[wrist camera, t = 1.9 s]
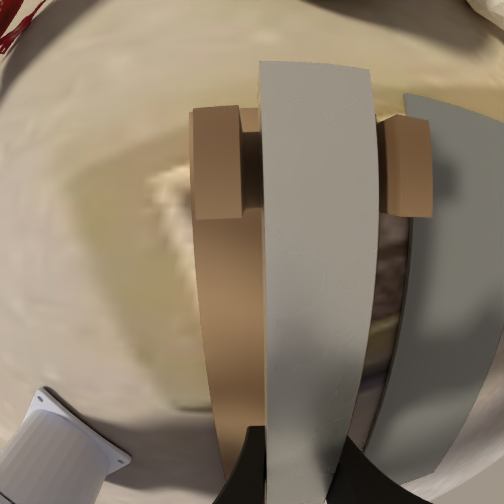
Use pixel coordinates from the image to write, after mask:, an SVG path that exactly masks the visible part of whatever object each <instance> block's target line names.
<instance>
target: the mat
mask: <svg viewBox="0 0 504 504" xmlns="http://www.w3.org/2000/svg"><path fill="white" fill-rule="evenodd" d="M404 102H405V110H406V116H408V117H414V118H419V119H424V120H428V121H429V127H430V138H431V151H432V171H433V212H432V217H410V230H409V246H408V258H407V269H406V278H405V286H404V294H403V301H402V308H401V314H400V320H399V325H398V331H397V336H396V341H395V346H394V350H393V355H392V359H391V364H390V368H389V372H388V376H387V380H386V383H385V387H384V391H383V394H382V398H381V401H380V404H379V408H378V411H377V414H376V417H375V420H374V423H373V426H372V429H371V432H370V435H369V437H368V440H367V443H366V445H365V448H364V451H363V454H364V455H365V456H366V457H367V458H368V459H369V460H370V461H371V462H372V463H373V464H374V465H375V466H376V467H377V468H378V469H379V470H380V471H381V472H382V473H384V474H385V475H386V476H387V477H389V478H390V479H391V480H393V481H394V482H395V483H397V484H398V485H401V484H404V483H407V482H410V481H412V480H415V479H418V478H421V477H423V476H426V475H428V474H431V473H433V472H434V471H435V469H436V468H437V466H438V465H439V464H440V462H441V461H442V459H443V458H444V456H445V455H446V453H447V451H448V450H449V448H450V447H451V445H452V443H453V442H454V440H455V438H456V437H457V435H458V433H459V432H460V430H461V428H462V426H463V424H464V423H465V421H466V419H467V417H468V415H469V413H470V411H471V409H472V407H473V405H474V403H475V401H476V399H477V397H478V395H479V392H480V390H481V388H482V386H483V383H484V381H485V379H486V376H487V374H488V371H489V369H490V366H491V364H492V361H493V358H494V355H495V353H496V350H497V347H498V344H499V341H500V338H501V334H502V331H503V328H504V123H502V122H499V121H497V120H494V119H492V118H489V117H487V116H484V115H481V114H478V113H476V112H473V111H470V110H467V109H464V108H461V107H458V106H454V105H451V104H448V103H444V102H441V101H437V100H434V99H430V98H426V97H422V96H418V95H413V94H409V93H406V94H404Z"/></svg>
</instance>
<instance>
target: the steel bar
mask: <svg viewBox="0 0 504 504" xmlns="http://www.w3.org/2000/svg"><path fill="white" fill-rule="evenodd" d="M257 99H258V126H259V155H260V187H261V223H262V264H263V313H264V381H265V442H266V480H265V504H323V503H324V500H325V498H326V495H327V493H328V490H329V487H330V485H331V482H332V479H333V476H334V473H335V470H336V468H337V465H338V461H339V458H340V455H341V452H342V449H343V446H344V442H345V439H346V435H347V432H348V428H349V424H350V421H351V417H352V413H353V409H354V405H355V401H356V396H357V392H358V388H359V383H360V378H361V373H362V368H363V363H364V358H365V352H366V346H367V340H368V334H369V327H370V320H371V312H372V304H373V295H374V285H375V274H376V262H377V246H378V220H379V175H378V150H377V134H376V122H375V111H374V102H373V94H372V86H371V79H370V72H369V70H368V69H362V68H355V67H348V66H340V65H331V64H320V63H307V62H285V61H259V74H258V94H257Z"/></svg>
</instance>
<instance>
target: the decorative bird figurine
mask: <svg viewBox="0 0 504 504" xmlns="http://www.w3.org/2000/svg"><path fill="white" fill-rule="evenodd" d="M23 1H24V0H0V38H1V36H2V35H3V34H4V32H5V31H6V29H7V28H8V26H9V25H10V23H11V22H12V20H13V18H14V17H15V15H16V14H17V12H18V10H19V9H20V7H21V5H22V3H23ZM45 1H46V0H44V1H43V2H41V3H40V4H39V5H38V6H37V8H36V9H35V10H34V12H33V13H31V14H30V15H29V16H26V17H25V18H24V19H23V20H22V21H21V23H20V24H19V25H18V26H17V27H16V28H15V29H14V30H13V31H11V32H9V33H8V34H7V35H5V36H4V37H2V38H1V39H0V45H2V44H3V43H4V44H3V46H2V47H1V48H0V54H5V52H6V51H7V49H8V48H9V46H10V45H11V44H12V42H13V41H14V40H15V38H16V37H17V36H18V35H20V34H21V32H23V31H24V30H25V29H26V28H27V27H28V25H29V24H30V22H31V20H32V18H33V16H34V14H35V13H36V12H37V10H38V9H39V8H40V7H41V5H42V4H43V3H44V2H45ZM4 48H5V50H4V51H3V52H2V50H3V49H4Z"/></svg>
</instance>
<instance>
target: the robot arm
mask: <svg viewBox="0 0 504 504" xmlns="http://www.w3.org/2000/svg"><path fill="white" fill-rule="evenodd" d="M131 460H132V459H131V457H130V456H129V455H128V454H126V453H125V452H123V451H122V450H120V449H119V448H117V447H116V446H114V445H113V444H111V443H110V442H108V441H107V440H105V439H104V438H103V437H101V436H100V435H98V434H97V433H96V432H94V431H93V430H92V429H90V428H89V427H88V426H87V425H85V424H84V423H83V422H81V421H80V420H79V419H78V418H77V417H75V416H74V415H73V414H72V413H71V412H69V411H68V410H67V409H66V408H65V407H64V406H62V405H61V404H60V403H59V402H58V401H57V400H56V399H55V398H54V397H52V396H51V395H50V394H49V393H48V392H47V391H46V390H45V389H43V388H39V389H38V390H37V391H36V393H35V395H34V398H33V400H32V402H31V404H30V406H29V409H28V411H27V413H26V416H25V418H24V420H23V423H22V425H21V426H20V428H19V429H18V430H17V431H16V433H15V434H14V435H13V436H12V438H11V439H10V440H9V441H8V443H7V444H6V445H5V447H4V448H3V449H2V450H1V452H0V504H94V503H95V501H96V498H97V496H98V494H99V491H100V489H101V487H102V484H103V482H104V480H105V478H106V476H107V475H109V474H111V473H113V472H115V471H117V470H119V469H120V468H122V467H124V466H126V465H128V464H129V463H130V462H131ZM265 480H266V442H265V426H249V427H247V431H246V436H245V440H244V444H243V447H242V449H241V452H240V455H239V457H238V459H237V462H236V464H235V466H234V469H233V471H232V472H231V474H230V476H229V478H228V480H227V482H226V484H225V485H224V487H223V489H222V490H221V492H220V493H219V495H218V496H217V498H216V499H215V501H214V502H213V503H212V504H264V492H265ZM326 501H327V504H433V503H430V502H428V501H426V500H424V499H422V498H420V497H418V496H416V495H414V494H413V493H411V492H409V491H407V490H406V489H404V488H402V487H401V486H400V485H398V484H397V483H395V482H394V481H393V480H391V479H390V478H389V477H387V476H386V475H385V474H384V473H382V472H381V471H380V470H379V469H378V468H377V467H376V466H375V465H374V464H373V463H372V462H371V461H370V460H369V459H368V458H367V457H366V456H365V455H364V454H363V453H362V452H361V451H360V450H359V449H358V447H357V446H356V445H355V444H354V443H353V441H352V440H351V439H350V438H349V436H348V435H346V439H345V442H344V446H343V449H342V452H341V455H340V458H339V461H338V465H337V468H336V470H335V473H334V476H333V479H332V482H331V485H330V487H329V490H328V493H327V495H326Z"/></svg>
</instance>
